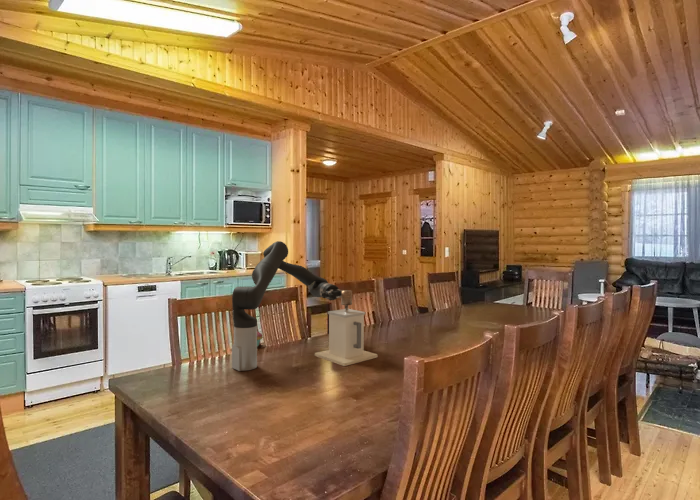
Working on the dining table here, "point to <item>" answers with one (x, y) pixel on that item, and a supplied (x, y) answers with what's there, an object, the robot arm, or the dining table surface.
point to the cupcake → (259, 337)
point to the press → (346, 338)
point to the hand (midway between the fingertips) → (341, 296)
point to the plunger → (346, 298)
